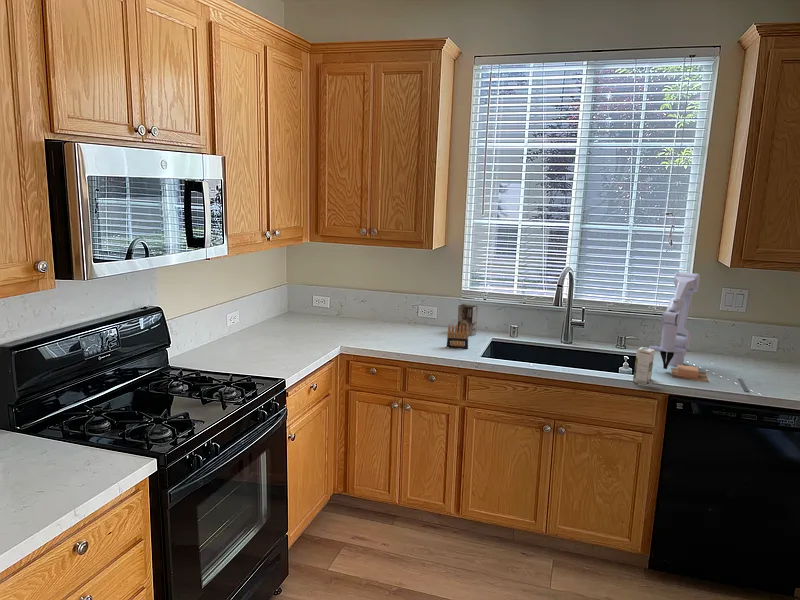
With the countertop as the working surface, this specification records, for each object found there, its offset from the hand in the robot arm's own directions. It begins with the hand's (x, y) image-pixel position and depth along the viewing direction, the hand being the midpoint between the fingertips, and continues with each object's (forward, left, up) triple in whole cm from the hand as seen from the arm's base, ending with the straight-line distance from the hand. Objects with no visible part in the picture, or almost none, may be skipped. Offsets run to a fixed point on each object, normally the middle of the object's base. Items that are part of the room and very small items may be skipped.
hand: (665, 368), depth 256 cm
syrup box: (+16, -9, -3) cm, 19 cm away
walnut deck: (0, +10, -3) cm, 10 cm away
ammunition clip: (+1, -95, -3) cm, 95 cm away
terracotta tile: (0, +9, -2) cm, 9 cm away
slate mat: (0, +24, -3) cm, 24 cm away
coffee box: (-30, -99, -3) cm, 104 cm away
